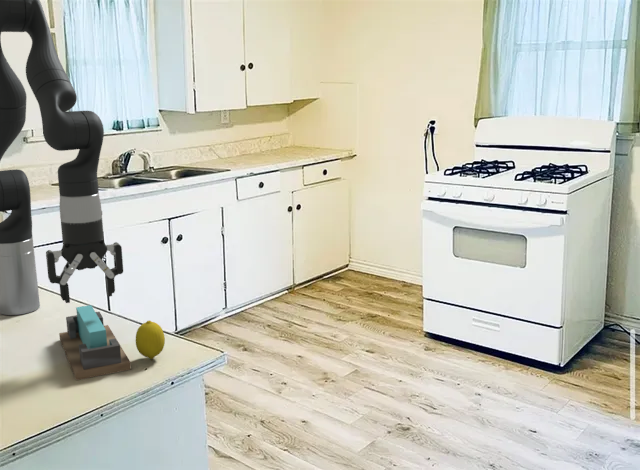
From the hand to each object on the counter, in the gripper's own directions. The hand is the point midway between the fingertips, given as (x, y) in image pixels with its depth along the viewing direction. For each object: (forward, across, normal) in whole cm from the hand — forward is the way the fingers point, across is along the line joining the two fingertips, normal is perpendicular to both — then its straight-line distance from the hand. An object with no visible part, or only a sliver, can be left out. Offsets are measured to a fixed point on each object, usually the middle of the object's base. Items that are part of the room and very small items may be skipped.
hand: (88, 298), depth 135 cm
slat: (+10, 0, 0) cm, 10 cm away
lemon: (+12, -10, +8) cm, 17 cm away
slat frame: (+12, 0, 0) cm, 12 cm away
